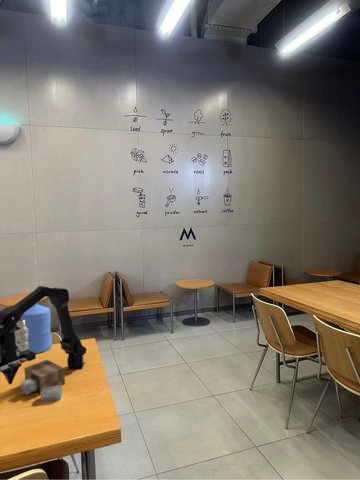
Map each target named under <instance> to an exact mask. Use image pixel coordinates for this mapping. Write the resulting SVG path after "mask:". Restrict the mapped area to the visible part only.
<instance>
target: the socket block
mask: <svg viewBox="0 0 360 480" xmlns="http://www.w3.org/2000/svg"><path fill="white" fill-rule="evenodd" d="M23 370H24V381H25V380H27V379H29V378H32V377H35V378H37V379H38V386H39V389H38V390H36V391H35V392H37V393H39V394H41V391H42V388H43V387H49V386H57V385H62V386H64V385H65V384H66V379H65V367H63V366H61V365H60V364H57V363H55V362H52V361H51V360H48V359H44V360H42V361H39V362H37V363H34V364H31V365H28V366H26V367H24V368H23Z"/></svg>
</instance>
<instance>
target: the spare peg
mask: <svg viewBox="0 0 360 480" xmlns="http://www.w3.org/2000/svg"><path fill="white" fill-rule="evenodd" d="M62 388H63V385H57V386H49V387H43V388H42V391H41V393H40V400H41V401H40V402H41V403H45V402H53V401H54V402H55V401H60V400H61V399H62V396H63V389H62Z"/></svg>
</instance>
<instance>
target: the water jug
mask: <svg viewBox="0 0 360 480" xmlns="http://www.w3.org/2000/svg"><path fill="white" fill-rule="evenodd" d="M51 316H52V315H51V309H50V308H49V307H46V306H43V305H40V304H38V303H36V304H35V305H34V306H32V307H31V308H30V309H29V310H27V311H26V312H25V313H24V314H23V315H22V317H21V319H20V320H22V319H24V320H25V322H26V324H25V325H26V326H27V327H28V329H29V336H28V343H29V349H30V350H31V351H33V352H35V353H36V354H40V352H41V353H43V352H46V351H48V350H50V349H51V348H52V346H53V339H52V338H53V337H52V332H51V331H52V330H51V321H52V318H51Z"/></svg>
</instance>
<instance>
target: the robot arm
mask: <svg viewBox="0 0 360 480" xmlns="http://www.w3.org/2000/svg"><path fill="white" fill-rule="evenodd" d="M45 297H47V298H48V300H49V301H50V303H51V304H52V305H53V307H54V308H55V309H56V313H57V317H58V321H59V324H60V328H61V333H62V335H63V336H62V339H61V340H60V341H59V344H60V346H61V347H60V349H62V350H63V351H64V354H67V355H68V356H67V360H66V362H67V370H68V371H69V370H81V369H83V367H84V366H85V363H86V362H85V360H84V358H85V357H84V355H86V354H87V348H86V347H85V346H84V345H83V344H82V342H81V339H80V337H79V336H78V335H77V334H76V333H75V329H74V325H73V321H72V318H71V315H70V314H71V313H70V309H69V307H68V304H69V302H70V293H69V290H68V289H66V288H63V287H62V288H61V287H49V286H44V285H40V286H37V287H36V289H34V290H33V291H31V293H29V294H27V295H26V296H25V297H24V298H22V299H21V300H19V301H18V302H16V303H15V304H13V305H11V306H9V307H5V308H3V309H1V310H0V373H2V374H3V375H4V378H5V379H6V382H7V384H8V385H12V384H13V382H14V379H15V377H16V374H17V373H18V370H19V369H20V368H21V367H22V366H23V365H22V363H21V361H20V360H23V359H26V360H25V361H28V362H31V361H34V360H36V359H37V358H36V357H37V353H36V354H35V352H33V351H31V350H29V349H28V350H25V351H22V352H20V353H19V356H17V349H18V346H17V342H16V336H15V331H16V330H19V329H20V327H18V325H17V322H18V321H19V320H20V319H21V317H22V315H23V314H24V313H25V312H26V311H27V310H29V309H30V308H31V307H32V306H34V305H35V304H36V303H37V304H38V303H39V302H40V301H41V300H43V299H44V298H45Z"/></svg>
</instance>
